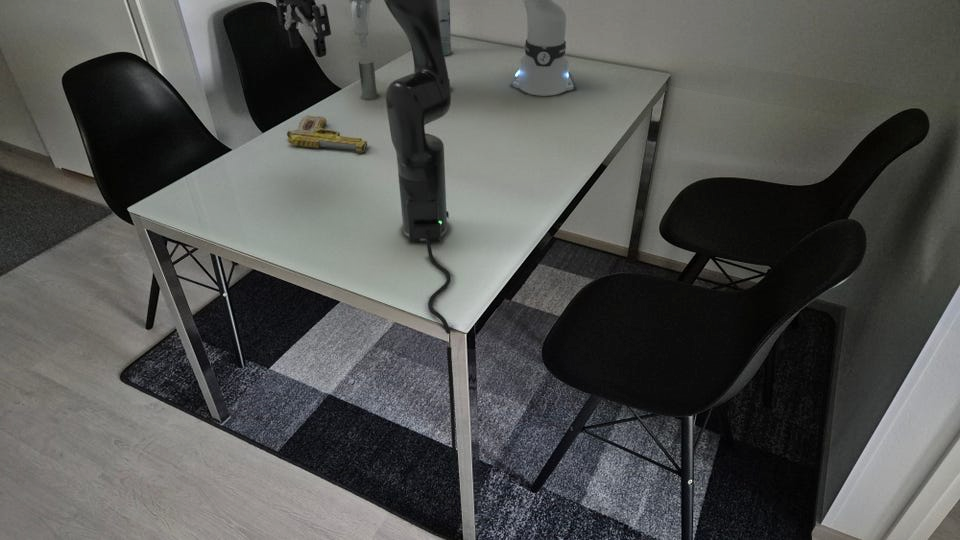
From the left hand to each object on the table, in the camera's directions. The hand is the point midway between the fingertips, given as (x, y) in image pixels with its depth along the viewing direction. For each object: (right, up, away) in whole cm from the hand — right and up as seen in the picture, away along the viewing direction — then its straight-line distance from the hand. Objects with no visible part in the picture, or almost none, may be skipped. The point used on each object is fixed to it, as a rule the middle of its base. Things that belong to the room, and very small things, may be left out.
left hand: (308, 51), depth 132 cm
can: (+3, +6, +56) cm, 57 cm away
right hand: (+3, +20, +48) cm, 52 cm away
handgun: (-3, -11, +34) cm, 36 cm away
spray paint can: (+23, +29, +86) cm, 94 cm away
